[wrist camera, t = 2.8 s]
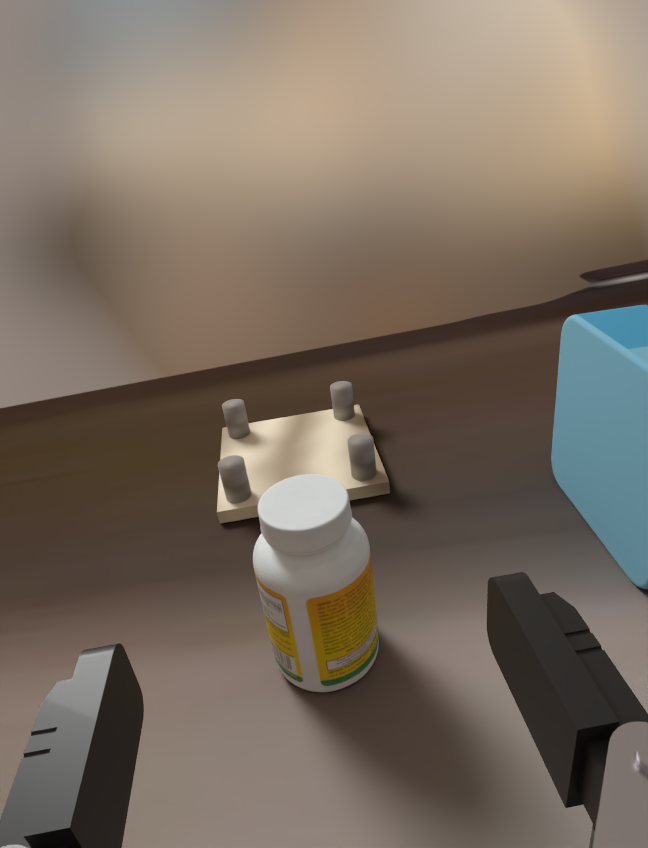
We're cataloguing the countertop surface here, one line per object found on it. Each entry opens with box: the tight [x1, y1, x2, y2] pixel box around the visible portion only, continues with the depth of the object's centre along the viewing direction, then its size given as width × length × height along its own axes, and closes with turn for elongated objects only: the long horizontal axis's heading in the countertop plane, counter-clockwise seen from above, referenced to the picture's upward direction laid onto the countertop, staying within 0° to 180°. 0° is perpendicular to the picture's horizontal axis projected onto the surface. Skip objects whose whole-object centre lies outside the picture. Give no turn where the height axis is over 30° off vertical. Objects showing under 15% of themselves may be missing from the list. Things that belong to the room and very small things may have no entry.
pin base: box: [217, 381, 390, 523], centre depth 44 cm, size 12×12×4 cm
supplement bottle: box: [253, 474, 379, 692], centre depth 27 cm, size 5×5×10 cm
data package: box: [551, 305, 648, 589], centre depth 32 cm, size 12×4×12 cm, turn 4°
